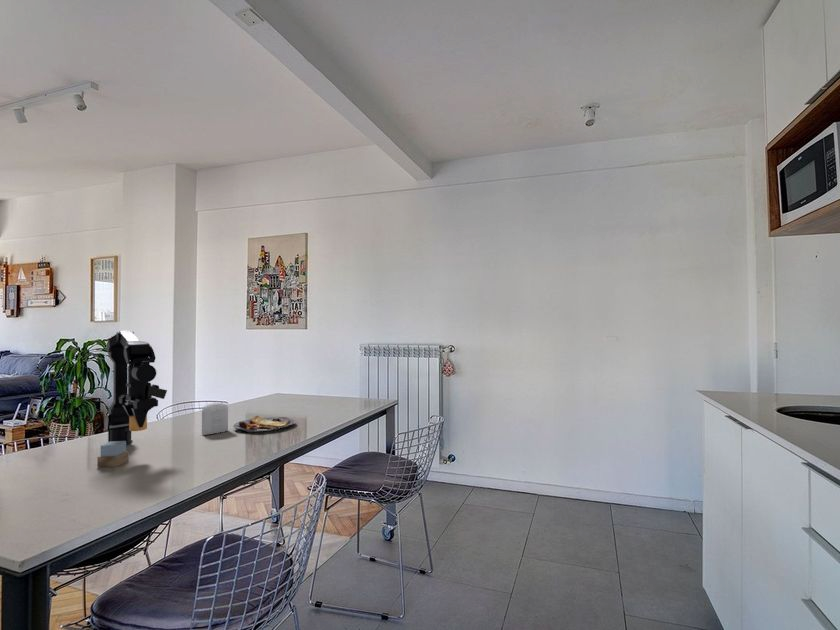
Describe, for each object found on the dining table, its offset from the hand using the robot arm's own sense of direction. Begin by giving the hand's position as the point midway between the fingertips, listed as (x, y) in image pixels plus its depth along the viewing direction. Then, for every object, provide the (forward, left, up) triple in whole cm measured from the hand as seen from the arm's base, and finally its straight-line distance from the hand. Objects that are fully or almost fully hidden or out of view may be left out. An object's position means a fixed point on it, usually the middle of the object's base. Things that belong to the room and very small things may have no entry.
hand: (138, 426), depth 148 cm
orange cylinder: (0, 0, -1) cm, 1 cm away
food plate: (+30, +42, -12) cm, 53 cm away
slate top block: (-5, -5, -8) cm, 10 cm away
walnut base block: (-5, -5, -11) cm, 13 cm away
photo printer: (+12, +34, -11) cm, 38 cm away
